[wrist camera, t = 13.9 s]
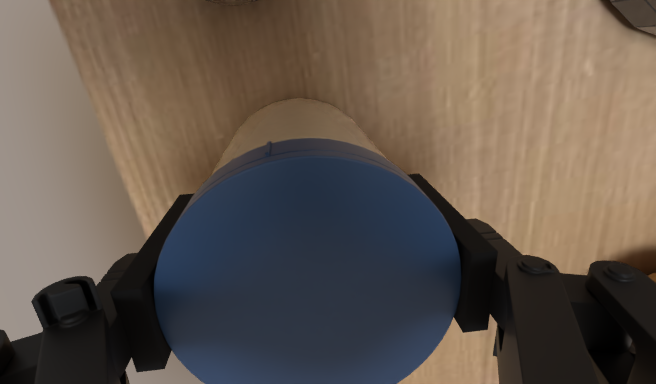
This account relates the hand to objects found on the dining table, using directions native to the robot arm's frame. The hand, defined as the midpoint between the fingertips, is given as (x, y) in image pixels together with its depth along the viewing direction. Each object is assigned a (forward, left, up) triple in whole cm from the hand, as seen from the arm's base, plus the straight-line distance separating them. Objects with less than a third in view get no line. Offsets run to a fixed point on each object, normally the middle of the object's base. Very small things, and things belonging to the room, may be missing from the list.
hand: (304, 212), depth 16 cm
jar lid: (0, 0, +6) cm, 6 cm away
